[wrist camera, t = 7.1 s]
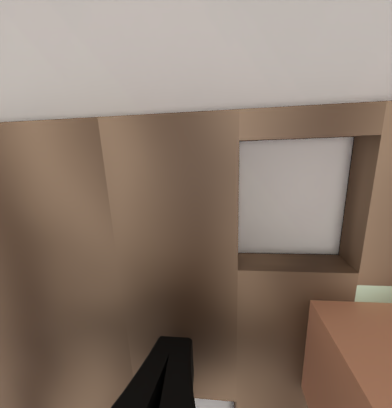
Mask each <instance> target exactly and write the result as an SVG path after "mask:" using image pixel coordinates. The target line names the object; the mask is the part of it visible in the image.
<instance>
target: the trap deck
mask: <svg viewBox="0 0 392 408" xmlns="http://www.w3.org/2000/svg"><path fill="white" fill-rule="evenodd" d="M332 137H354V144H353V152H352V159H351V167H350V174H349V182H348V189H347V196H346V204H345V211H344V219H343V226H342V234H341V241H340V249H339V255H320V254H256V253H238V197H239V141H257V140H282V139H307V138H332ZM310 300H322V301H349V302H376V303H392V101H378V102H360V103H342V104H324V105H306V106H288V107H270V108H252V109H234V110H216V111H198V112H180V113H162V114H144V115H127V116H109V117H91V118H73V119H55V120H37V121H19V122H1V123H0V408H111V407H112V405H113V404H114V403H115V402H116V400H117V399H118V398H119V396H120V395H121V394H122V392H123V391H124V390H125V388H126V387H127V385H128V384H129V383H130V381H131V380H132V378H133V377H134V375H135V374H136V372H137V371H138V370H139V368H140V367H141V365H142V364H143V362H144V361H145V359H146V357H147V356H148V354H149V353H150V351H151V349H152V348H153V346H154V345H155V343H156V341H157V339H158V338H159V337H160V336H170V337H187V338H190V339H192V344H193V366H194V382H193V393H194V398H200V399H211V400H222V401H233V402H234V408H308V405H307V402H306V399H305V396H304V393H303V390H302V387H301V383H302V374H303V364H304V355H305V345H306V336H307V326H308V316H309V307H310Z"/></svg>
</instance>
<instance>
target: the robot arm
mask: <svg viewBox="0 0 392 408" xmlns="http://www.w3.org/2000/svg"><path fill="white" fill-rule="evenodd" d="M193 382H194V366H193V344H192V339H190V338H187V337H170V336H160V337H159V338H158V339H157V341H156V343H155V345H154V346H153V348H152V349H151V351H150V353H149V354H148V356H147V357H146V359H145V361H144V362H143V364H142V365H141V367H140V368H139V370H138V371H137V372H136V374H135V375H134V377H133V378H132V380H131V381H130V383H129V384H128V385H127V387H126V388H125V390H124V391H123V392H122V394H121V395H120V396H119V398H118V399H117V400H116V402H115V403H114V404H113V405H112V407H111V408H195V401H194V393H193Z"/></svg>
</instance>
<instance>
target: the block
mask: <svg viewBox="0 0 392 408" xmlns="http://www.w3.org/2000/svg"><path fill="white" fill-rule="evenodd" d="M301 387H302V390H303V393H304V396H305V399H306V402H307V405H308V408H392V303H376V302H349V301H322V300H310V307H309V316H308V326H307V336H306V345H305V355H304V364H303V374H302V383H301Z"/></svg>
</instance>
